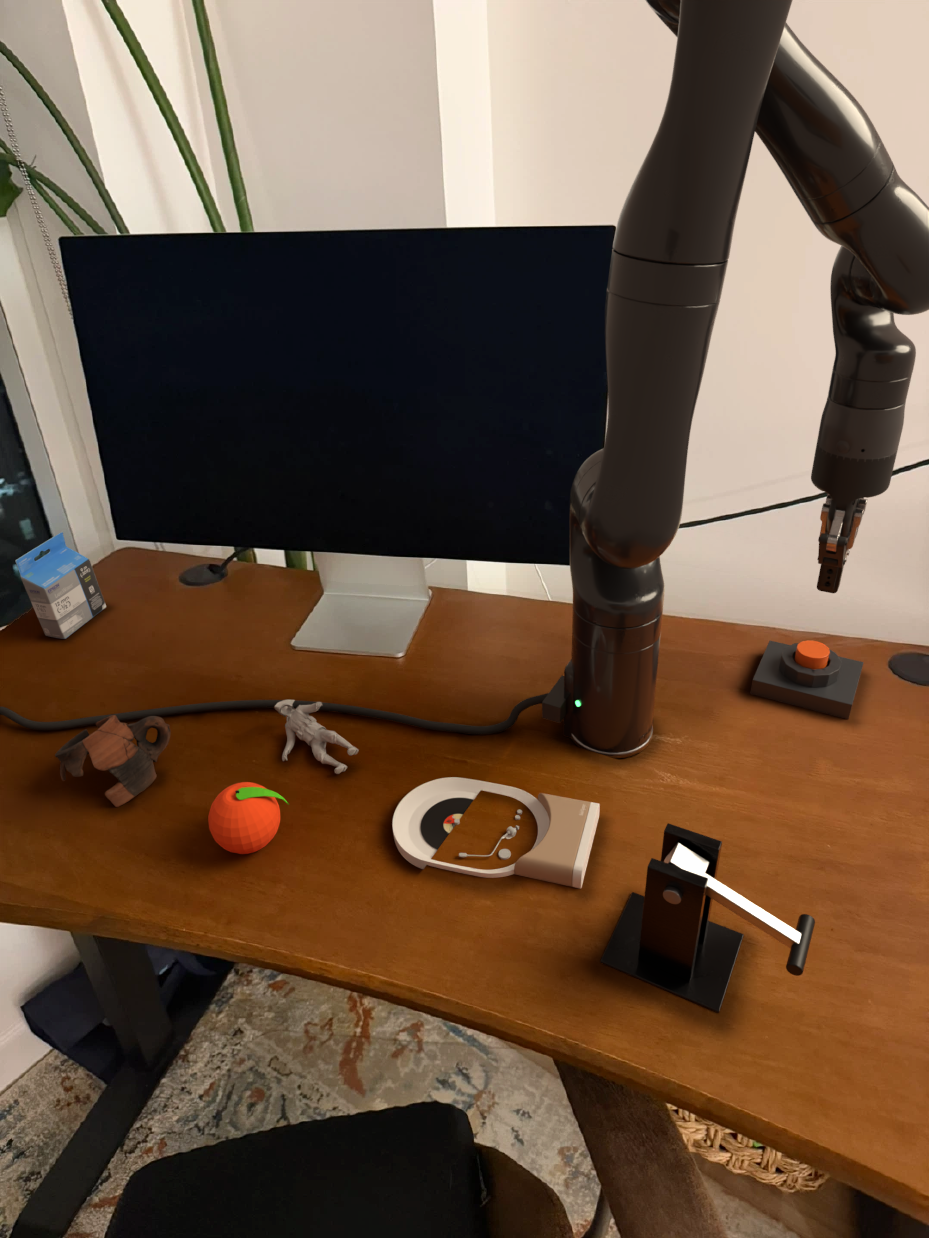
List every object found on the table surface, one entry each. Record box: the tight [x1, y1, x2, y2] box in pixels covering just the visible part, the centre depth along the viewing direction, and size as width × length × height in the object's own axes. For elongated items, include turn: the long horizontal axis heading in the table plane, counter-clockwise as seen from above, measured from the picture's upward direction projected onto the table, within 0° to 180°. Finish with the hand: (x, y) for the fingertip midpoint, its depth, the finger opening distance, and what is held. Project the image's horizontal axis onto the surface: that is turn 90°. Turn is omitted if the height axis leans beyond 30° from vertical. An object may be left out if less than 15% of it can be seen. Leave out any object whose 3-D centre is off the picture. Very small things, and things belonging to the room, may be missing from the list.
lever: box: [664, 843, 816, 977], centre depth 65 cm, size 12×5×2 cm, turn 61°
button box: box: [750, 640, 865, 720], centre depth 101 cm, size 11×9×4 cm
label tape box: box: [15, 531, 107, 640], centre depth 119 cm, size 9×4×12 cm, turn 159°
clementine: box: [207, 781, 289, 855], centre depth 84 cm, size 8×7×7 cm
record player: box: [391, 776, 601, 890], centre depth 84 cm, size 12×3×20 cm
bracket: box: [599, 823, 745, 1014], centre depth 69 cm, size 10×8×13 cm
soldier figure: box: [273, 698, 360, 775], centre depth 96 cm, size 8×5×12 cm
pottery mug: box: [54, 715, 172, 808], centre depth 94 cm, size 12×10×8 cm
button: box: [795, 639, 831, 669], centre depth 100 cm, size 4×4×2 cm
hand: (827, 588), depth 95 cm, fingers closed
